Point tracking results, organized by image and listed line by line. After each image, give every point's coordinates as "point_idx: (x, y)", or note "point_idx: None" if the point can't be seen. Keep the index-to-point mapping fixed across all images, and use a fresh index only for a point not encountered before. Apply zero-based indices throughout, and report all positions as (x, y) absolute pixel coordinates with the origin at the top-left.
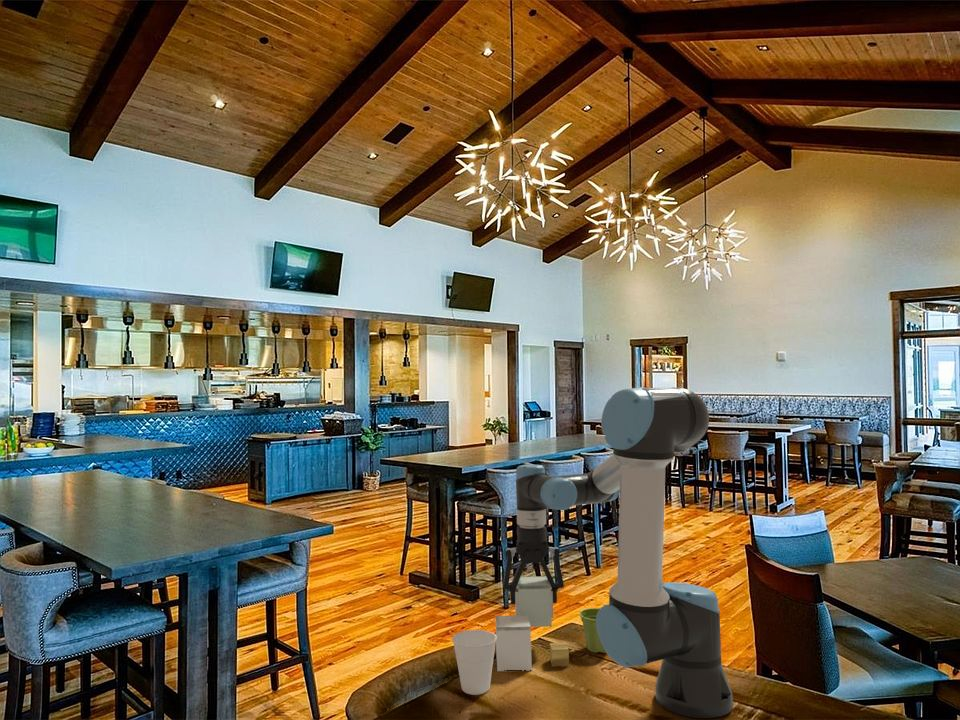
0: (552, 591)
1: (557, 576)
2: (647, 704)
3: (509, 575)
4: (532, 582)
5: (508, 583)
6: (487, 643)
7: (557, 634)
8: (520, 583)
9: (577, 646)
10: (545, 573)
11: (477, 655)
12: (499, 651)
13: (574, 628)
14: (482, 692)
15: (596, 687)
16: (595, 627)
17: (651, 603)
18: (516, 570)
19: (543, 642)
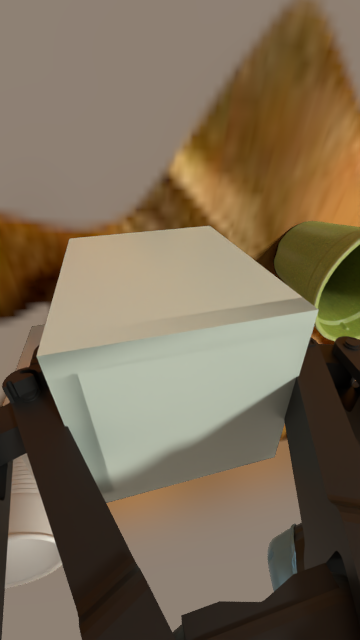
0: None
1: (355, 434)
2: (284, 429)
3: (3, 552)
4: (184, 444)
5: (9, 483)
6: (35, 508)
7: (219, 116)
8: (103, 475)
9: (256, 235)
10: (297, 477)
11: (35, 552)
12: None
13: (297, 36)
14: None
15: None
16: (324, 319)
17: None
18: (48, 519)
19: (164, 203)
